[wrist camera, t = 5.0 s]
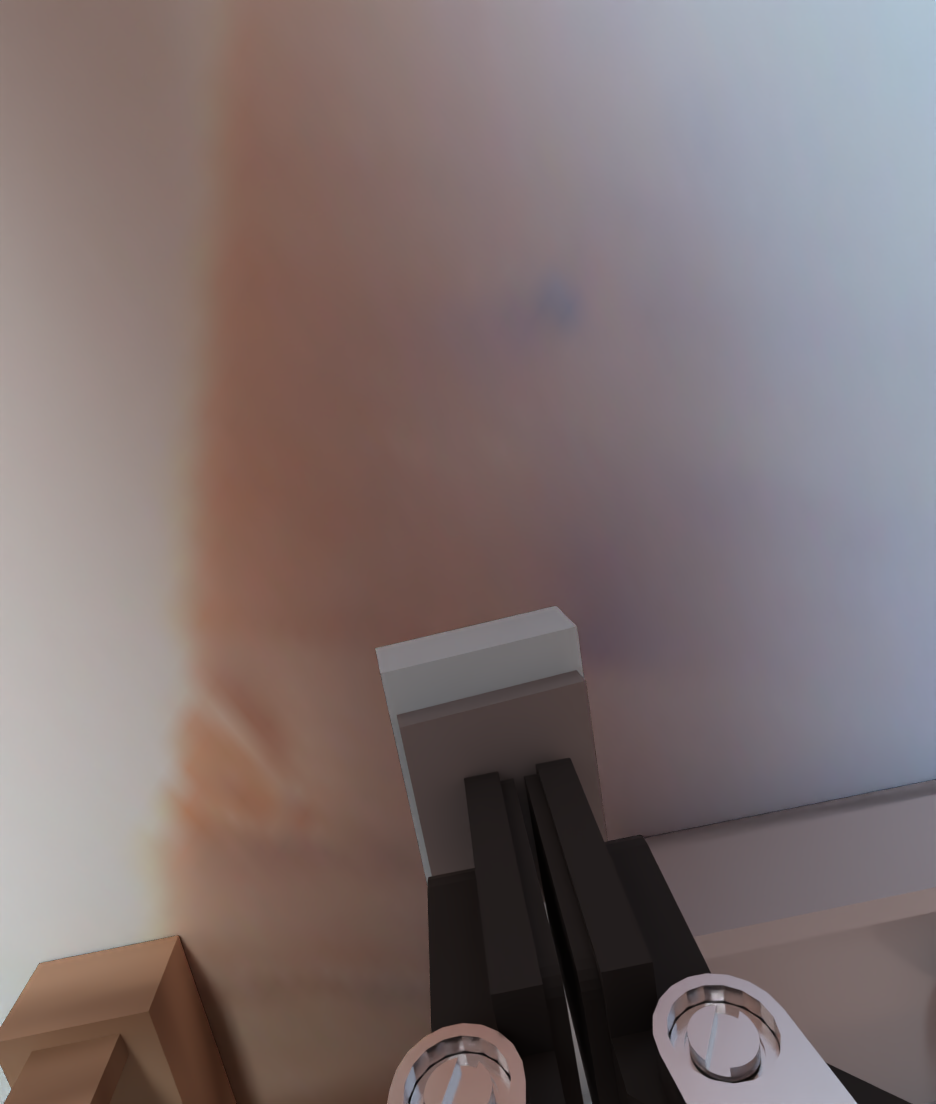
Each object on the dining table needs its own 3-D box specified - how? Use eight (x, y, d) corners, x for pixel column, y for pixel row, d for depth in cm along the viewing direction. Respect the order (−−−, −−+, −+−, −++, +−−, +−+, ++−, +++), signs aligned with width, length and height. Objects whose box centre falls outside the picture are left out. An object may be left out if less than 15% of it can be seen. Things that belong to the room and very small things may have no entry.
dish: (618, 842, 17) (680, 986, 13) (1090, 748, 17) (1285, 860, 13) (659, 1155, 20) (720, 1349, 16) (1065, 1068, 20) (1221, 1237, 16)
